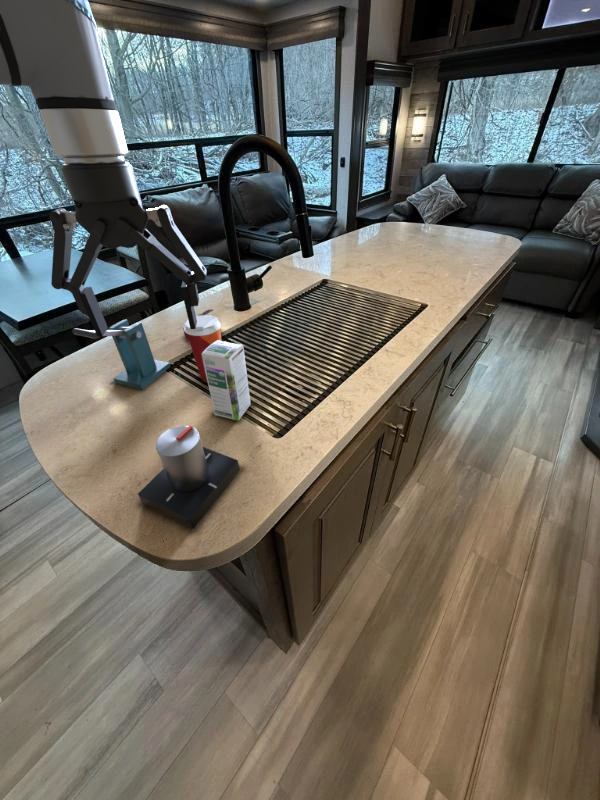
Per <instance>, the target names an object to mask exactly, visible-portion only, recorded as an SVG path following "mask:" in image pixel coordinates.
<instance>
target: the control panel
mask: <svg viewBox="0 0 600 800" xmlns="http://www.w3.org/2000/svg"><path fill="white" fill-rule="evenodd" d="M202 447H203V450H204V454H205V457H206V461H207V464H208V468H209V477H208V479H207V481H206V482H205V483H204V484H203V485H202V486H201V487H199V488H198V489H196V490H193V491H189V492H181V491H177V490H175V489H174V488H173V487H172V486H171V484H170V481H169V479H168V476H167V474H166V472H165V469H164V467H163V468H162V469H161V470H160V471H159V472H158V473H157V474H156V475H155V476H154V477H153V478H152V479H151V480H150V481H149V482H148V483H147V484H146V485H145V486H144V487H143V488H141V490H140V491H139V492H138V493H137V496H138V498H139V500H140V502H141V504H142V505H144V506H146V507H148V508H151V509H152V510H154V511H156V512H158V513H160V514H162V515H164V516H166V517H168V518H170V519H172V520H174V521H176V522H178V523H180V524H182V525H184V526H186V527H188V528H190V529H192V530H194V529H195V528H196V527H197V525H198V524H199V522H200V521H202V519H203V518H204V516H205V515H206V514H207V513H208V511H210V509H211V508H212V506H213V505H214V504H215V503H216V501H217V500H218V498H219V497H220V496H221V495H222V493H223V492H224V491H225V490H226V488H227V487H228V486H229V484H231V482H232V481H233V480H234V478H235V477H236V476H237V474H238V473H239V472H240V471H241V469H240V463H239V460H238V459H235V458H233V457H231V456H228V455H225V454H223V453H220V452H217V451H215V450H212V449H210V448H207V447H205V446H202Z"/></svg>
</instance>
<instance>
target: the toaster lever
mask: <svg viewBox="0 0 600 800" xmlns="http://www.w3.org/2000/svg"><path fill="white" fill-rule="evenodd" d="M127 328H129V327H119V330H109V329H107V330H106V332H105V333H104V335H103V336H102V337H112V336H119V338H123V339H126V336H125V334H124V330H126V329H127ZM72 334H73V335H76V336H81V337H86V338H90V339H94V340H95V339H96V340H98V339H100V337H101V336H98V337H97V335H96V332H95V330H94V329H92V330H88V329H81V328H77V327H74V328H73V329H72Z"/></svg>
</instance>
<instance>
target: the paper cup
mask: <svg viewBox="0 0 600 800" xmlns="http://www.w3.org/2000/svg"><path fill="white" fill-rule="evenodd" d="M196 319H197V324H196V329H190V325H189V320H188V319H187V320H186V321H185V323H184V325H185V327H184V330H183V332H184V331H185V333H187V336H188V339H189V342H188V343H189V346H190V348H191V352H192V355H193V358H194V361H195V364H196V368H197V370H198V374H199V377H200V379H201V381H202V382H203V383H205V384H208V381H207V377H206V373H205V368H204V364H203V359H202V353H203V351H204V350H205V349H206V348H207V347H209V346H210V345H211V344H213V343H214V342H216V341H217V340H219V341H222V334H221V327H222V324H221V322H220V321H219V320H218V318H217V317H216V316H214V315H210V314H206V315H200V316H198V315H196Z"/></svg>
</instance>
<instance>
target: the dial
mask: <svg viewBox="0 0 600 800" xmlns="http://www.w3.org/2000/svg"><path fill="white" fill-rule="evenodd" d="M203 447H204V446H203V443H202V440H201V436H200V433H199V431H198V430H197V429H196V428H195V427H193V425H178V426H174V427H172V428H169V429H166V430H165V431H164V432H162V433H161V434H160V435H159V436H158V438H157V439H156V441H155V450H156V453H157V455H158V458H159V460H160V461H161V464H162V466H163V468H164V469H165V472H166V474H167V476H168V479H169V481H170V484H171V486H172V487H173V488H174V489H175V490H177V491H181V492H189V491H193V490H196V489H198V488H199V487H201V486H202V485H203V484H204V483H205V482H206V481H207V479H208V477H209V468H208V464H207V461H206V457H205V454H204V450H203Z"/></svg>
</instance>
